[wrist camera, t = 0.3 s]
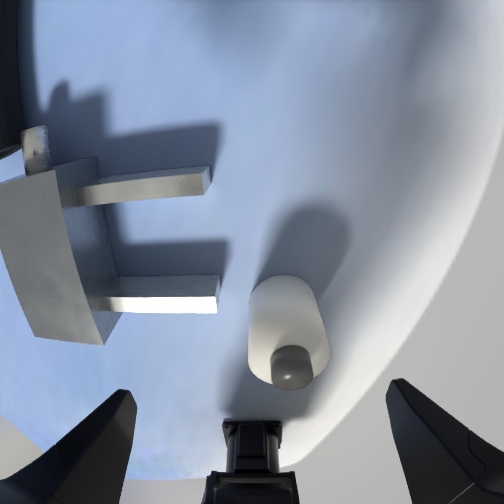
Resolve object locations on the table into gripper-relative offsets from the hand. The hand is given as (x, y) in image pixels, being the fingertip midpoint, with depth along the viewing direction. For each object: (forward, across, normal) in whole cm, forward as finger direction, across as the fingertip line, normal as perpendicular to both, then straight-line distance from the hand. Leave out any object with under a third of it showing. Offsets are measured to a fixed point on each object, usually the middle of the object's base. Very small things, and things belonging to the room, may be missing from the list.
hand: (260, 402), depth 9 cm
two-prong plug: (+13, +10, -3) cm, 17 cm away
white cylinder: (+13, -2, +4) cm, 14 cm away
